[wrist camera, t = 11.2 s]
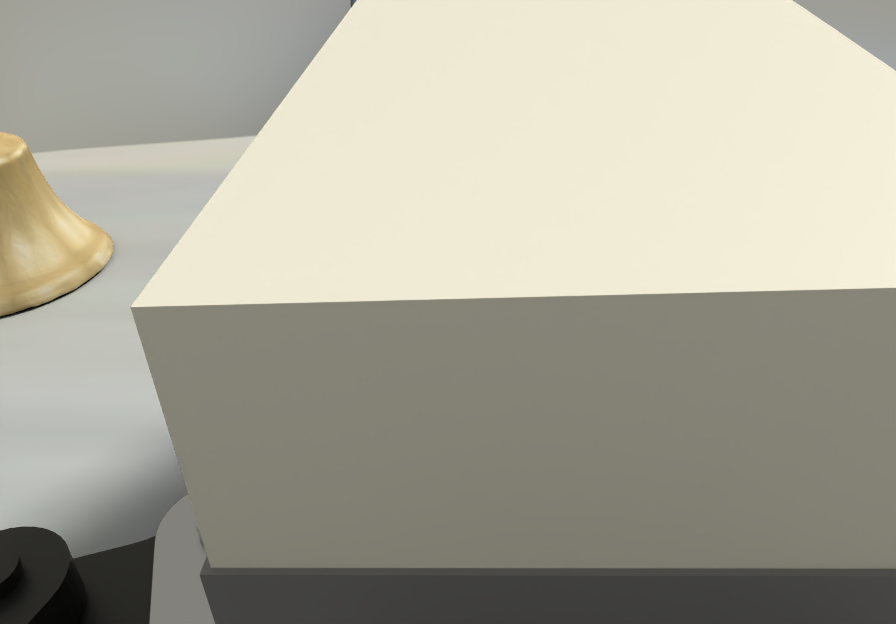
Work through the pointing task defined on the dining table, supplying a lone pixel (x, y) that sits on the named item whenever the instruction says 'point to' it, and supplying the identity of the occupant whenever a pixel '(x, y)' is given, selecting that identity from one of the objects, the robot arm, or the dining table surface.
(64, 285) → the hand bell
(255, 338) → the block
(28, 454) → the dining table surface
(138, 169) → the dining table surface
